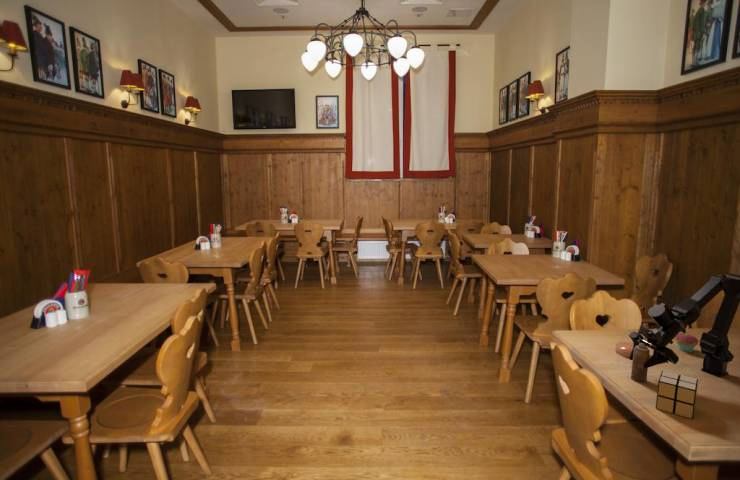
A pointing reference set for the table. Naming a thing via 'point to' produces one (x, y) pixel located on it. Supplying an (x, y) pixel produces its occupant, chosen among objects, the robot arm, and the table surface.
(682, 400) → the puzzle cube
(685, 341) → the cupcake
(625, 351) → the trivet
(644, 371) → the pepper mill
